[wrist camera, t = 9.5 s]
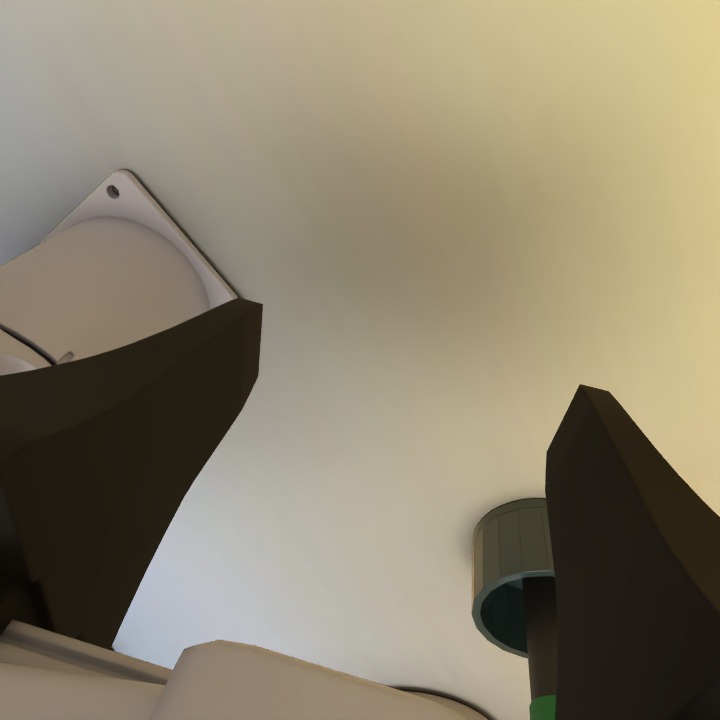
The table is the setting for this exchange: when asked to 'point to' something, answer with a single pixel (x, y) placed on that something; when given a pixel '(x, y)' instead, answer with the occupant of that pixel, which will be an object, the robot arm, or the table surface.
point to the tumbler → (508, 569)
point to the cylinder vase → (452, 705)
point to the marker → (541, 644)
